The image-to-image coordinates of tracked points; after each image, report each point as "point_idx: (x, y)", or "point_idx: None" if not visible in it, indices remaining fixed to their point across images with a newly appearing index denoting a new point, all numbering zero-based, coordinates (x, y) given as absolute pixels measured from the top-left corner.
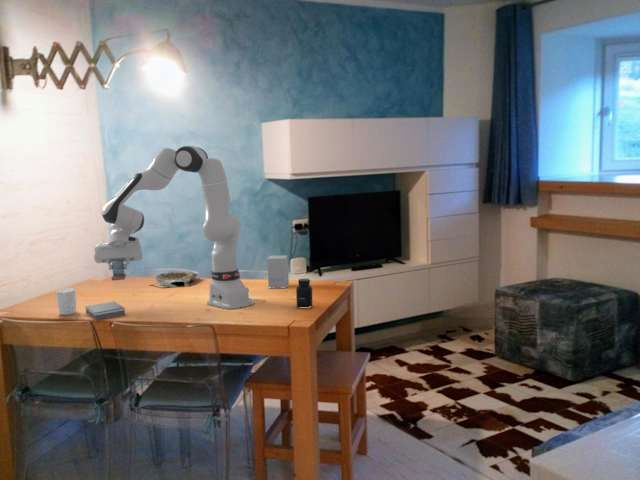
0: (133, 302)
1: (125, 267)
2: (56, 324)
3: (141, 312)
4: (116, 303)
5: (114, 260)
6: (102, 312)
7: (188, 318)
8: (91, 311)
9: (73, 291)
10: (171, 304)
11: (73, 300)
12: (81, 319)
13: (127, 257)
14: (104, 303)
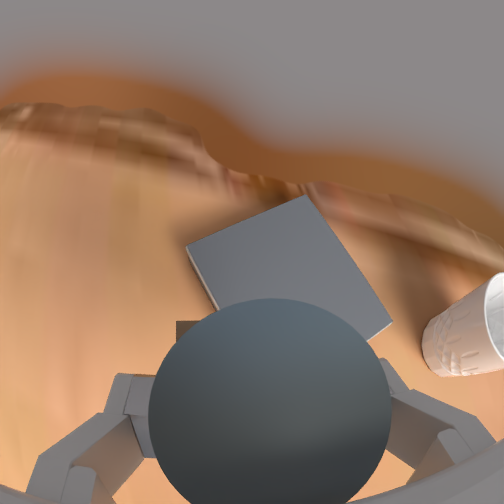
0: None
1: (137, 376)
2: (410, 200)
3: (118, 276)
4: None
5: (362, 477)
6: (278, 206)
7: (2, 165)
8: (335, 237)
9: (481, 303)
10: (4, 375)
11: (454, 315)
12: (358, 235)
13: (47, 498)
14: None
